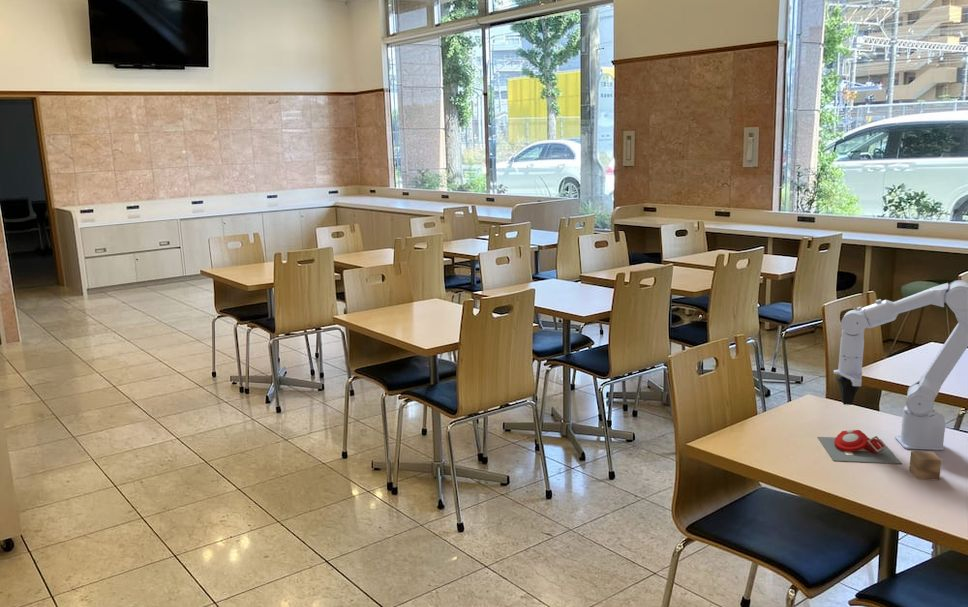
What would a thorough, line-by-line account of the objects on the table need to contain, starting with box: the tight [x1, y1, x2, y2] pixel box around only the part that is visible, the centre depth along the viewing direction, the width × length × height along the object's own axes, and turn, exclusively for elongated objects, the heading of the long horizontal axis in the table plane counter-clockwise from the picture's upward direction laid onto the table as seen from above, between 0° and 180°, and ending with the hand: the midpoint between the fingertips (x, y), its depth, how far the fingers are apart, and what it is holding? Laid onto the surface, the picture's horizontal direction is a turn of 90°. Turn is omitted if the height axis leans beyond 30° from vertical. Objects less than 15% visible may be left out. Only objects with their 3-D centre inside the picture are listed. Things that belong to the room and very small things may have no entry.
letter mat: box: [817, 436, 902, 465], centre depth 207 cm, size 16×16×1 cm
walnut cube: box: [908, 450, 942, 481], centre depth 191 cm, size 5×5×5 cm
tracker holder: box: [834, 429, 888, 453], centre depth 207 cm, size 12×4×10 cm
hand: (847, 403), depth 216 cm, fingers closed
